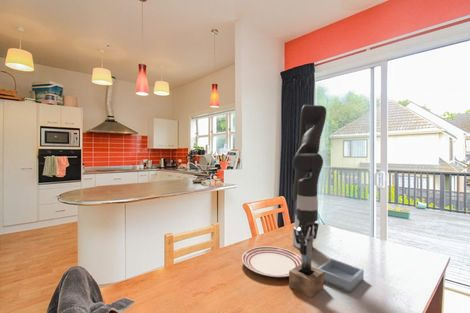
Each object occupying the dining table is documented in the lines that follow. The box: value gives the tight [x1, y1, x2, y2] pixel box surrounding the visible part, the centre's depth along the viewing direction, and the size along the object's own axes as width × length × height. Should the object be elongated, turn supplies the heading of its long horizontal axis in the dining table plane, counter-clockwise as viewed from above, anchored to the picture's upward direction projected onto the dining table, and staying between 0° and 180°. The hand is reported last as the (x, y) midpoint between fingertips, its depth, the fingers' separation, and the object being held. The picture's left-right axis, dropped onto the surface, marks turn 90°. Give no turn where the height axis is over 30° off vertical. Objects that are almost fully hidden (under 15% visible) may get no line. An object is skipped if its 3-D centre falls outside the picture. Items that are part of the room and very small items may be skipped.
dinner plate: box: [241, 245, 301, 278], centre depth 103 cm, size 28×27×3 cm
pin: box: [300, 234, 315, 276], centre depth 86 cm, size 5×5×15 cm
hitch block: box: [288, 264, 325, 299], centre depth 86 cm, size 9×9×6 cm
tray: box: [316, 258, 364, 294], centre depth 92 cm, size 13×13×4 cm
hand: (306, 252), depth 86 cm, fingers closed on pin, 3 cm apart
